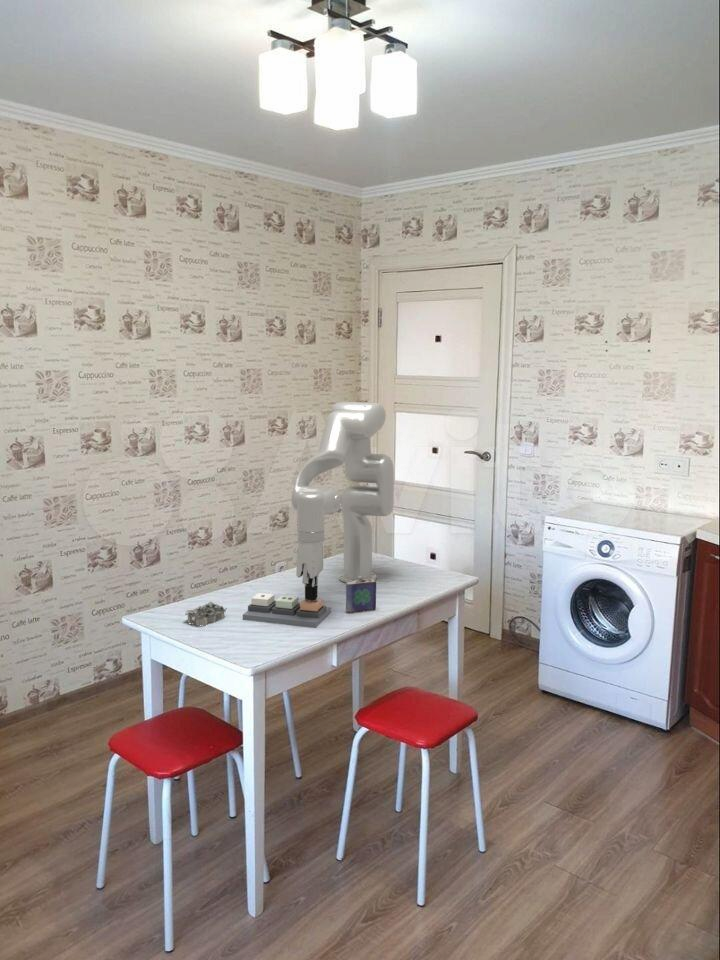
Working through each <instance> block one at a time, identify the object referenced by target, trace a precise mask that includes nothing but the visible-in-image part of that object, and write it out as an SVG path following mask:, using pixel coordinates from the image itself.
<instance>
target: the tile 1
mask: <svg viewBox="0 0 720 960" xmlns="http://www.w3.org/2000/svg"><path fill="white" fill-rule="evenodd" d="M250 601H251V603H252V605H259V606H269V605H270V604H271V603H273V602H274V601H276V600H275V594H273V593H263V592H258V593H256V594H255V595H254V596H252V597H251V600H250Z"/></svg>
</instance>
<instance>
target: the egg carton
mask: <svg viewBox="0 0 720 960" xmlns="http://www.w3.org/2000/svg"><path fill="white" fill-rule="evenodd" d="M227 610H228V608H224V606H223V605H222V606H220V604H217V603H214V602H212V601H209V602H208V603H206V604H203V605H199V606H198V607H194V608H193V609H187V610H186V612H185V613H184V616H187V624H188V623H196V624H195V626H196V625H197V626H196V627H198V626H199V627H201V626H200V625H203V626H202V627H207V626H208V624H209V623H210V624H211V623H212V624H213V623H216V620H224V619H225V613H226V612H227ZM206 625H207V626H206Z"/></svg>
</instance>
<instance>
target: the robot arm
mask: <svg viewBox="0 0 720 960" xmlns="http://www.w3.org/2000/svg"><path fill="white" fill-rule="evenodd" d="M386 416H387V415H386V409H385V407H384V406H383V404H381V403H379V402H366V401H364V402H363V401H362V402H360V401H342V402H341V401H340V402H337V403H334V404H333V405H332V407H331V412H330V413H329V414H328V416H327V417H326V421H325V423H324V428H323V432H322V435H321V441H320V444H319V448H318V452H317V454H315V455H314V456H313V457H312V458H309V460H308V461H307V462H306V463H305V464H304V465H303V466H302V467H301V469H300V470H299V471H298V473H297V475H296V478H295V481H294V485H293V489H292V494H291V505H292V507H293V509H294V510H295V511H296V512H297V513H296V514H297V515H296V519H297V522H296V523H297V532H296V533H297V543H298V545H297V552H296V554H297V555H296V577H297V578H301V577H302V584H303V585H304V599H306V600H316V599H319V598H318V597H319V595H318V586H319V585H318V583H319V575H320V573H322V571H323V570H324V545H323V543H325V516H327V515H334V514H335V513H337V512H338V511H339V510H340V509H341V511H342V512H341V513H342V521H343V572H341V573H339V575H338V580H340V581H341V582H343V583H345V584H346V583H348V582H353V581H358V579H359V575H362V578H363V579H368V580H369V579H371V580H372V579H373V580H375V581H376V580H377V574H376V573H375V572H373V528H372V527H373V526H372V524H371V521H370V520H369V518H368V517H367V516H370V517H371V516H374V517H388V516H390V515H391V514H392V512H393V509H394V502H395V493H394V489H395V487H394V486H395V483H394V482H395V480H394V479H395V478H394V477H395V476H394V475H395V474H394V473H395V472H394V464H393V460H392V458H391V457H390V456H389V455H386V454H384V453H383V454H382V453H372V448H371V444H372V443H371V438H372V437H373V436H375V434H377V433H378V432H379V431H380V430H382V428H383V426H384V425H385V422H386ZM343 464H344V472H345V477H346V479H347V480H348V481H351V482H354V483H363V484H364V483H367V484H376V486H367V485H349V486H346V487H344V489H343V490H342V491H341V493H340V492H339V491H338V490H337V489H335V488H331V487H321V486H309V485H310V484H311V482H312V481H313V480H314V479H315V478H316V477H317V476H319V475H321V474H323V473H326V472H328V471H331V470H333V469H336V468H338V467H340V466H342V465H343Z"/></svg>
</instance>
